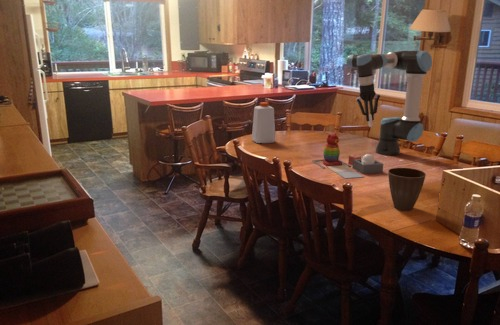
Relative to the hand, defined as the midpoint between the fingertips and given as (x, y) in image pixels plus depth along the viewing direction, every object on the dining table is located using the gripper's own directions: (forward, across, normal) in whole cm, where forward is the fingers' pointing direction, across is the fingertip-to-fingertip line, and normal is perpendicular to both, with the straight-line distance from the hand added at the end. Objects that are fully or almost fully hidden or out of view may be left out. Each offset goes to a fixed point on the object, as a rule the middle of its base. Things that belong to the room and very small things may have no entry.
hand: (370, 126), depth 234 cm
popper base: (+24, -5, -3) cm, 25 cm away
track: (+21, -20, +1) cm, 29 cm away
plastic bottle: (+16, -59, +70) cm, 93 cm away
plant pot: (+22, -6, -60) cm, 64 cm away
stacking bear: (+21, -23, +10) cm, 33 cm away
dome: (+23, -5, -3) cm, 23 cm away
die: (+24, -9, +9) cm, 27 cm away
